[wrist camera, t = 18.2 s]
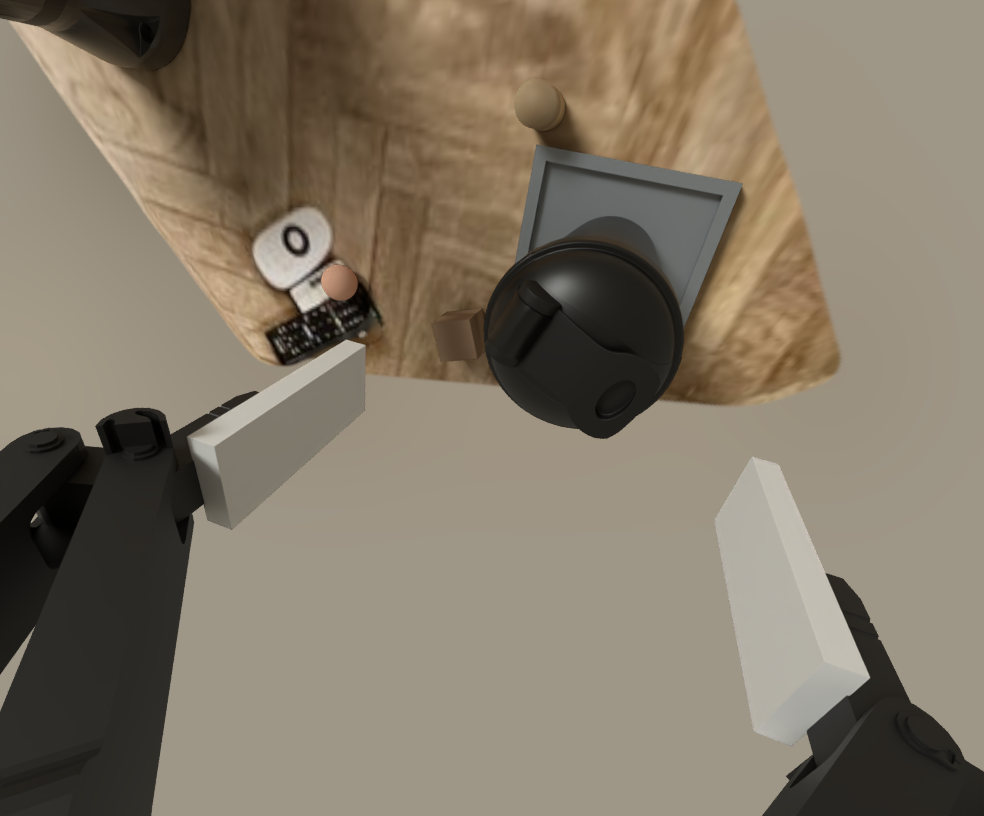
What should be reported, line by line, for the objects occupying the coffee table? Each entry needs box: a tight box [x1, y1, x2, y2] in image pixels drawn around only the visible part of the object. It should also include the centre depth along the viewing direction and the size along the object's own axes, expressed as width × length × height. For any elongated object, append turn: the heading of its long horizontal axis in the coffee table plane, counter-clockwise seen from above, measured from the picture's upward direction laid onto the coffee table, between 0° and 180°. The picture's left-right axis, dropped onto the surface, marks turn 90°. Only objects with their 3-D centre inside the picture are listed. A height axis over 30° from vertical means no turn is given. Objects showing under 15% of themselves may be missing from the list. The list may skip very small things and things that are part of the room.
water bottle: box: [483, 216, 684, 439], centre depth 30 cm, size 10×10×23 cm
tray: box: [515, 145, 743, 327], centre depth 39 cm, size 16×16×1 cm
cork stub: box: [515, 78, 565, 131], centre depth 34 cm, size 3×3×4 cm
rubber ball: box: [321, 265, 358, 300], centre depth 47 cm, size 4×4×4 cm
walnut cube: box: [431, 308, 485, 362], centre depth 45 cm, size 4×4×4 cm
